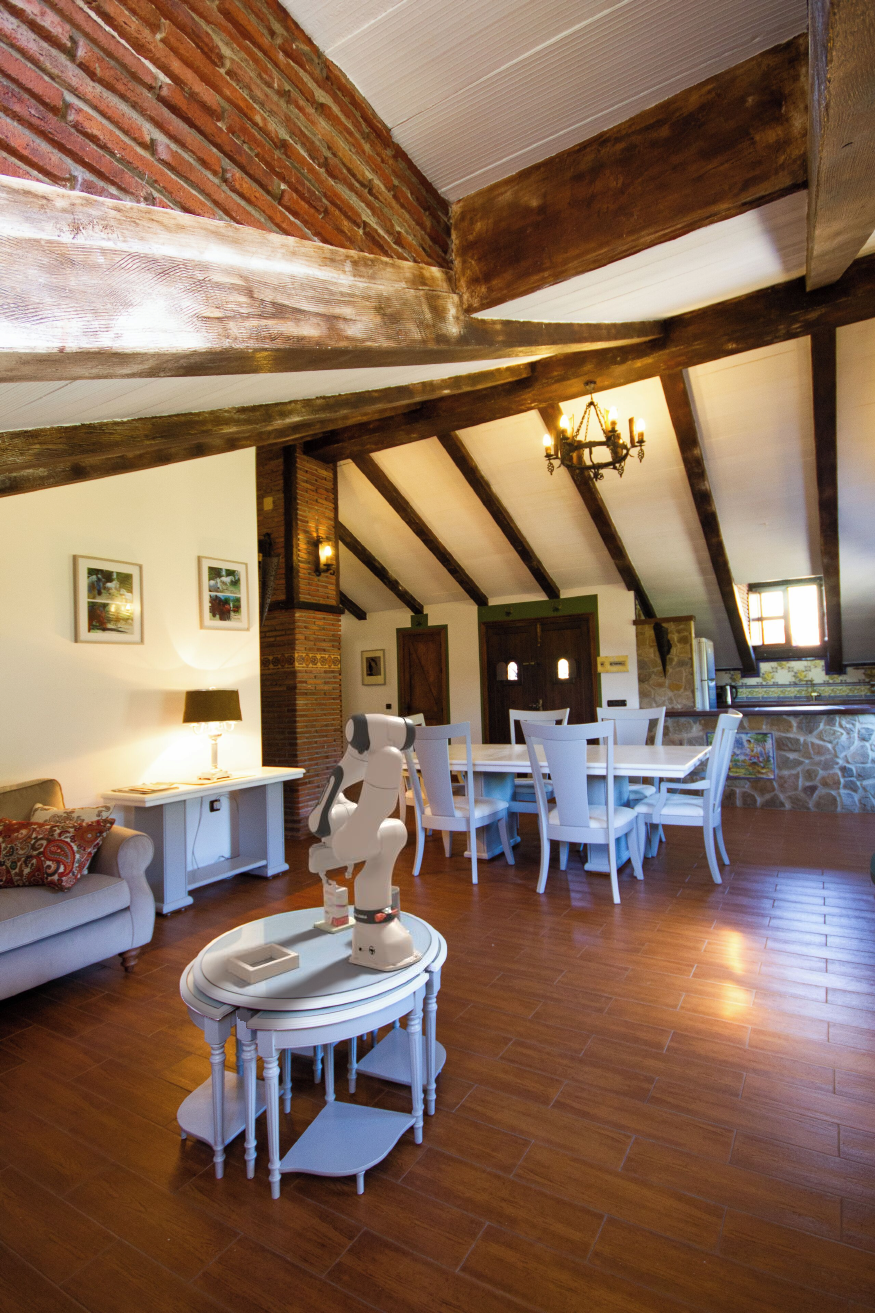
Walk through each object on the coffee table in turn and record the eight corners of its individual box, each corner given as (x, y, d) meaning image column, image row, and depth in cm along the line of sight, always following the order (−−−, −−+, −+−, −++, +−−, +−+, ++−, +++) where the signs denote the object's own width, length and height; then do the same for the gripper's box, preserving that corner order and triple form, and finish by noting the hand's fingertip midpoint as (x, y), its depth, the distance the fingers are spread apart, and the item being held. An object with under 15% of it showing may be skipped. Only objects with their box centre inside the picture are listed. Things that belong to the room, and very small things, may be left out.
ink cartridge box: (349, 923, 221) (348, 879, 222) (337, 927, 218) (335, 882, 219) (336, 918, 228) (334, 875, 229) (323, 922, 224) (322, 878, 225)
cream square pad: (363, 924, 223) (362, 921, 223) (333, 933, 215) (333, 930, 215) (342, 917, 232) (342, 914, 232) (313, 926, 223) (313, 923, 223)
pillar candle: (366, 932, 214) (364, 886, 215) (389, 924, 220) (387, 879, 221) (384, 940, 207) (381, 891, 208) (407, 931, 213) (405, 884, 214)
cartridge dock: (299, 967, 188) (298, 954, 188) (251, 984, 178) (251, 971, 178) (273, 954, 199) (272, 943, 199) (226, 970, 188) (226, 957, 189)
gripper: (314, 846, 216) (316, 888, 214) (363, 835, 230) (366, 875, 228) (303, 844, 220) (306, 886, 219) (352, 834, 234) (355, 873, 233)
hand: (337, 880), depth 224 cm, fingers open, 8 cm apart
